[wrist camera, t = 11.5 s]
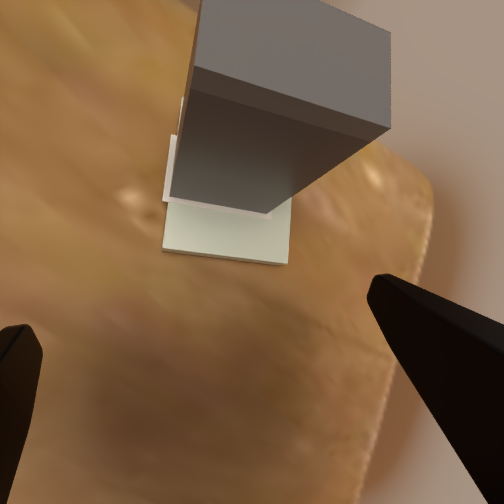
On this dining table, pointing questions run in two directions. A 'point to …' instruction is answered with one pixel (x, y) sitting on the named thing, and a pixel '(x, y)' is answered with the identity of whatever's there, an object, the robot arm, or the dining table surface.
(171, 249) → the board
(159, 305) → the dining table surface
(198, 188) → the block
